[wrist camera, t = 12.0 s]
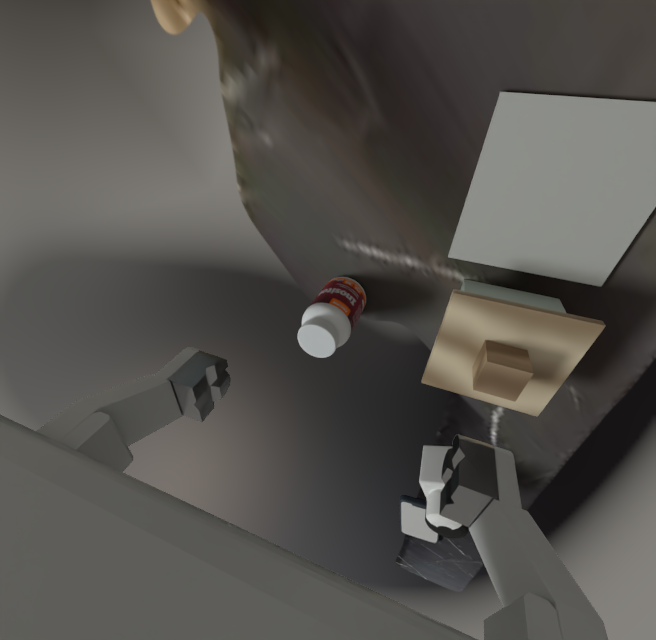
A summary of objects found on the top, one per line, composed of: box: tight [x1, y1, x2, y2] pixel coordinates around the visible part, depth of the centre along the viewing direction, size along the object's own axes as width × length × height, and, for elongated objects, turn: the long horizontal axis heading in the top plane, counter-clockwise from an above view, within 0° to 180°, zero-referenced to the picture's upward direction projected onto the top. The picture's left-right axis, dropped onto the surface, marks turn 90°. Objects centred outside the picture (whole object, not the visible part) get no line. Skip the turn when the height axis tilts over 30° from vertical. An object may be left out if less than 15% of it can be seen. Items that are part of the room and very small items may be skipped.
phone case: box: [399, 495, 439, 543], centre depth 68 cm, size 9×2×16 cm
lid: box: [422, 289, 606, 417], centre depth 31 cm, size 13×13×4 cm
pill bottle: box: [298, 277, 366, 358], centre depth 39 cm, size 6×6×11 cm
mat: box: [448, 92, 656, 287], centre depth 29 cm, size 15×15×1 cm
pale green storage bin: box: [460, 279, 566, 313], centre depth 35 cm, size 10×10×6 cm
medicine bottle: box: [419, 445, 468, 538], centre depth 50 cm, size 7×7×12 cm
